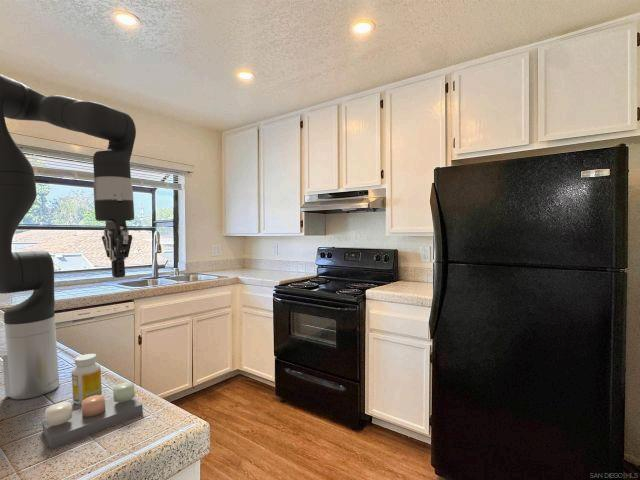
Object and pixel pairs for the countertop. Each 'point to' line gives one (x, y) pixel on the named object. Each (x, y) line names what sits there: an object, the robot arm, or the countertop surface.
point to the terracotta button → (93, 405)
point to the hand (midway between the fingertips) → (118, 277)
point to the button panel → (91, 422)
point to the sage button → (124, 392)
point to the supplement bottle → (86, 378)
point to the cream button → (58, 413)
